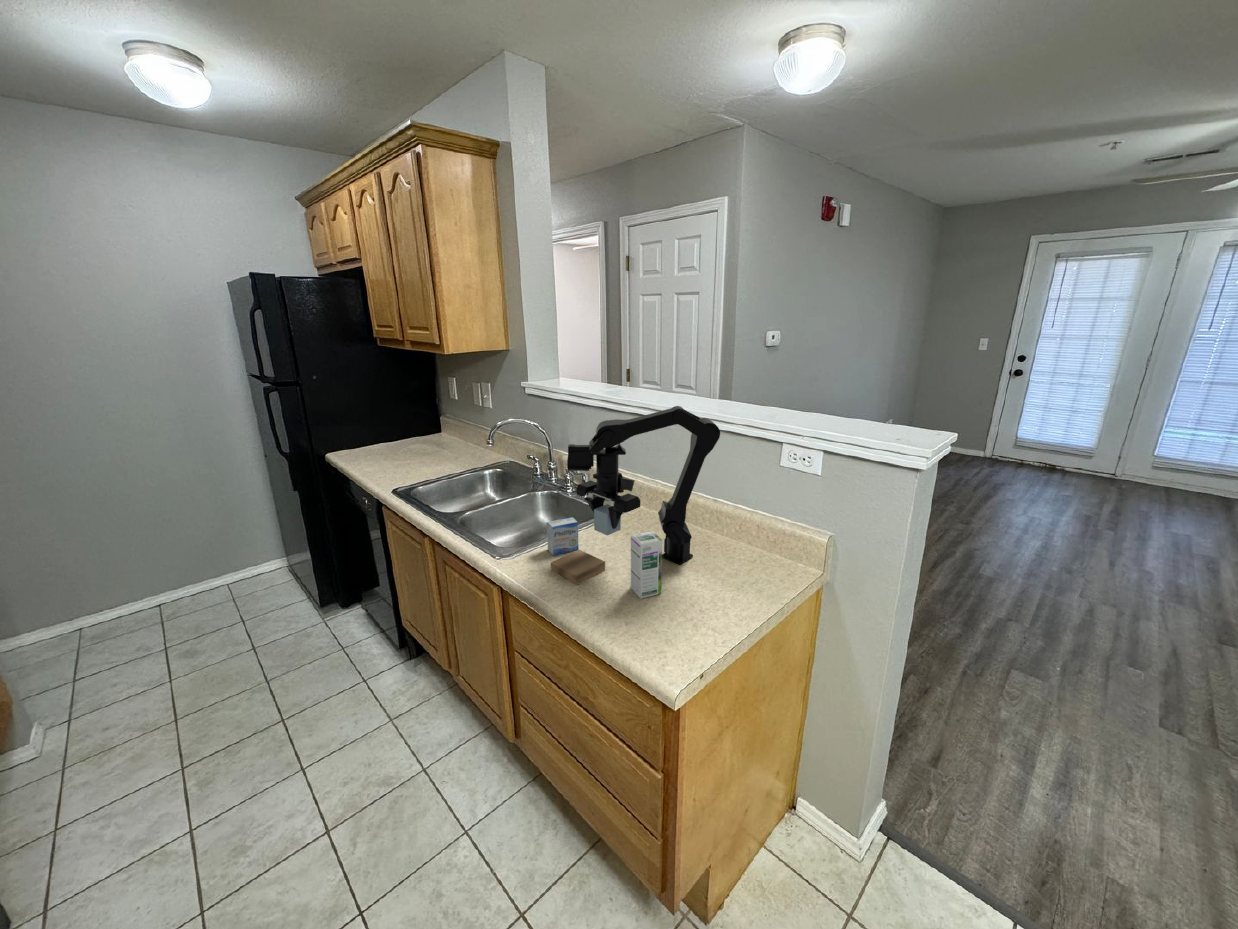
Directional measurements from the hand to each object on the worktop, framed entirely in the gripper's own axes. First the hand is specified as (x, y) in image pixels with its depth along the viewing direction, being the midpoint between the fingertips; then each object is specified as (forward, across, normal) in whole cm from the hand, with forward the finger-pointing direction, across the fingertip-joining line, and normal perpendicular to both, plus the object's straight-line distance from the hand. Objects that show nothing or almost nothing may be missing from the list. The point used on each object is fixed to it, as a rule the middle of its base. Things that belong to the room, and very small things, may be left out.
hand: (607, 525), depth 135 cm
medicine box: (+10, +13, +5) cm, 17 cm away
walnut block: (+10, +1, +10) cm, 14 cm away
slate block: (+1, 0, 0) cm, 1 cm away
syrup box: (+10, -18, +5) cm, 21 cm away
